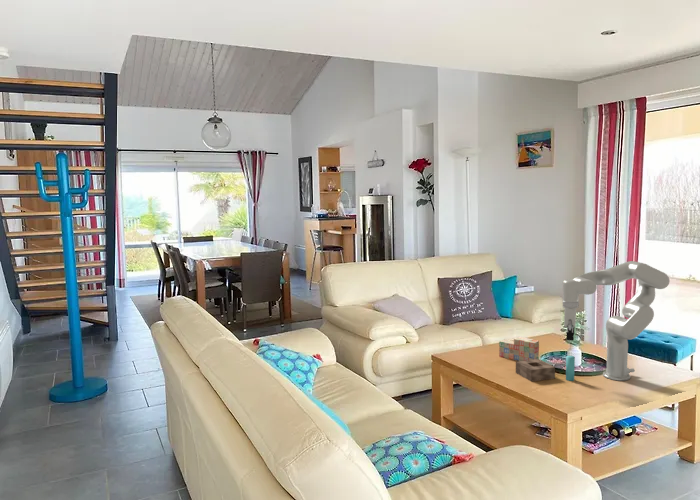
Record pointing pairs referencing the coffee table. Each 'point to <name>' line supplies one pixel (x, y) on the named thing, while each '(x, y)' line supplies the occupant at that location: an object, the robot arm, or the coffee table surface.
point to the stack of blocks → (519, 349)
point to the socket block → (535, 370)
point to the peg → (570, 368)
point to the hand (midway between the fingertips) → (570, 337)
